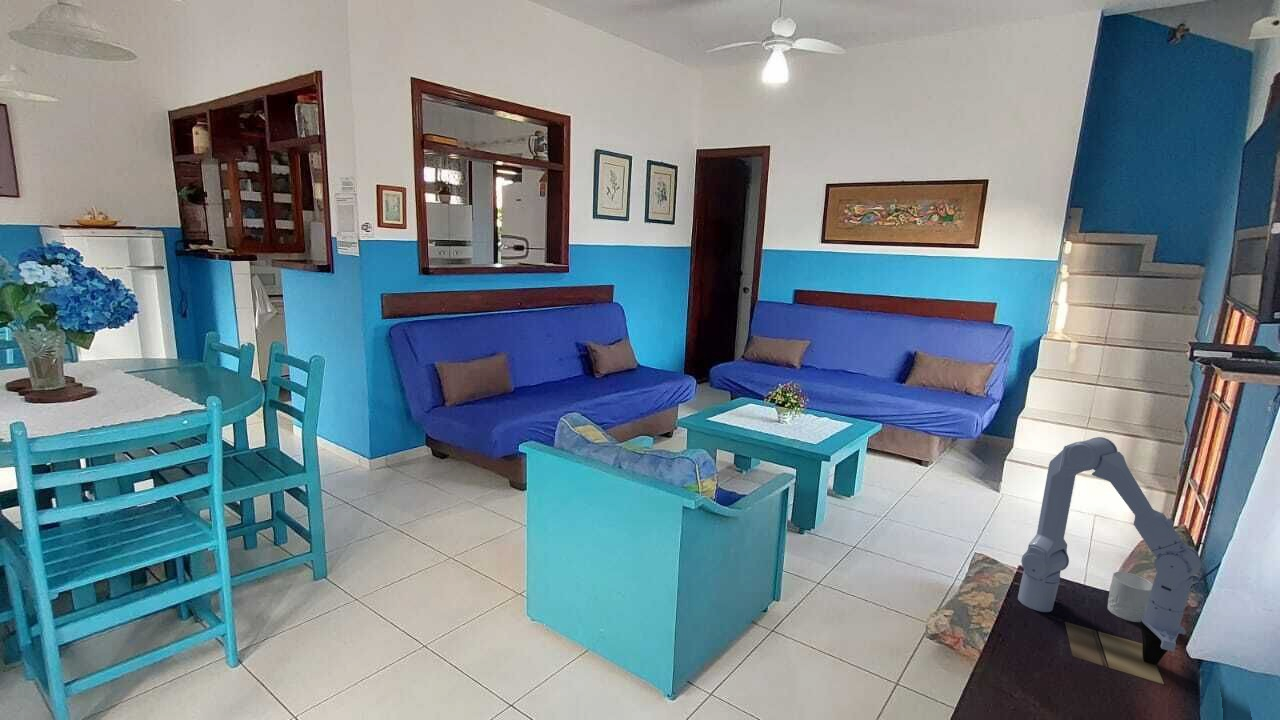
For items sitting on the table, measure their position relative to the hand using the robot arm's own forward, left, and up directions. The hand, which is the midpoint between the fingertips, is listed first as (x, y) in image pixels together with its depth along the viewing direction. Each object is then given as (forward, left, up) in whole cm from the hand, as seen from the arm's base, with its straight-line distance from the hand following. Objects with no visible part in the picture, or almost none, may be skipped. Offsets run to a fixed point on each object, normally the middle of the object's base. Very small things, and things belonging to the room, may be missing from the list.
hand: (1149, 661), depth 134 cm
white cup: (-20, -1, -2) cm, 20 cm away
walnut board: (0, -11, -2) cm, 11 cm away
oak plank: (0, -3, -2) cm, 4 cm away
